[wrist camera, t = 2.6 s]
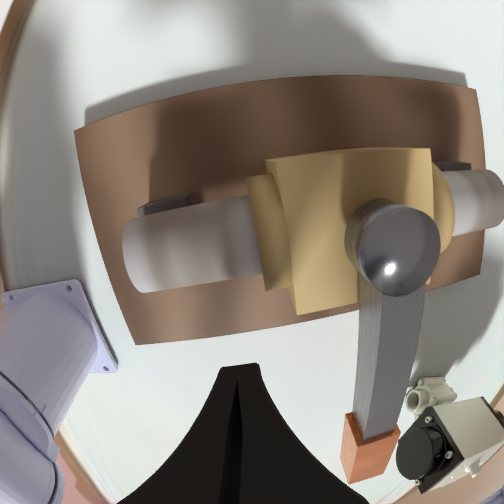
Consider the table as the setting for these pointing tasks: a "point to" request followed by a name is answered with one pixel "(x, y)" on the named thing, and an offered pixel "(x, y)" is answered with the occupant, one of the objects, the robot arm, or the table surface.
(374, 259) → the valve lever
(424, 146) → the ball valve
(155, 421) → the table surface
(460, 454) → the pneumatic valve
